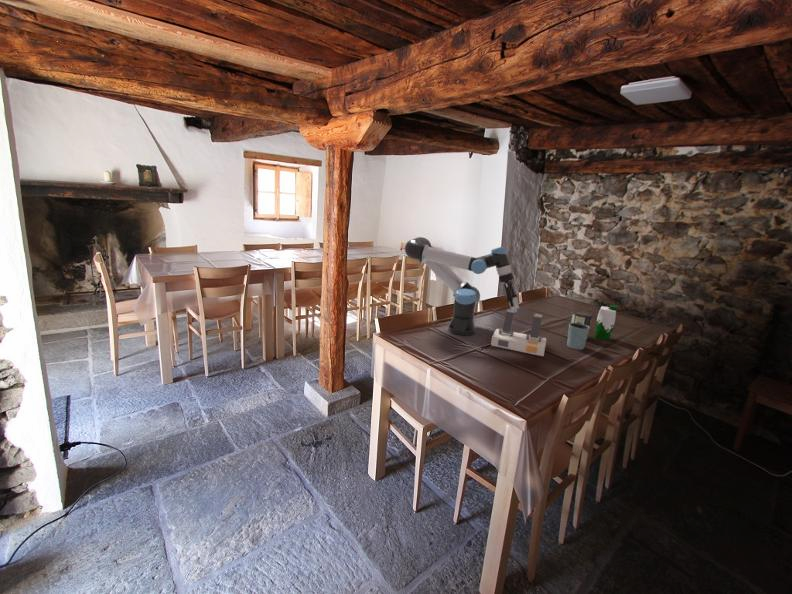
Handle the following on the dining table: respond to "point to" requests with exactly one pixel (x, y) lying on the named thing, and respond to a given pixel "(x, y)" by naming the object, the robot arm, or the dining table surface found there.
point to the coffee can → (582, 318)
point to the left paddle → (508, 320)
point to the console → (519, 342)
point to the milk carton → (605, 322)
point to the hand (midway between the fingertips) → (515, 310)
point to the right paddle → (536, 325)
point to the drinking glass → (577, 335)
